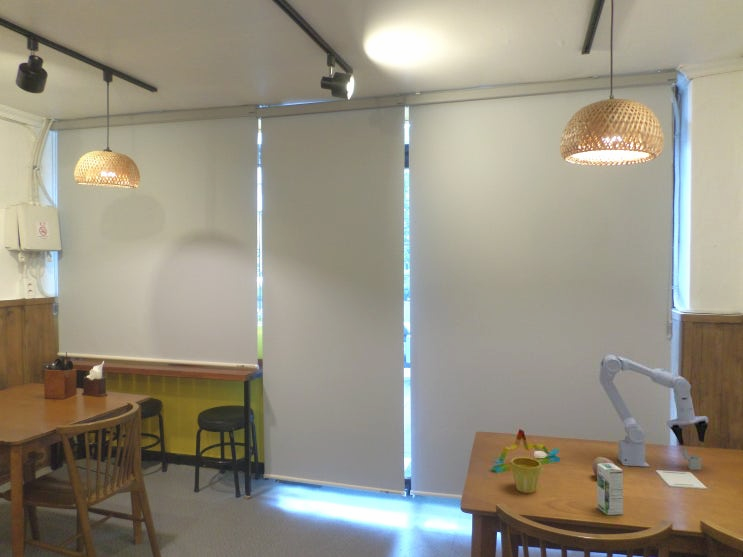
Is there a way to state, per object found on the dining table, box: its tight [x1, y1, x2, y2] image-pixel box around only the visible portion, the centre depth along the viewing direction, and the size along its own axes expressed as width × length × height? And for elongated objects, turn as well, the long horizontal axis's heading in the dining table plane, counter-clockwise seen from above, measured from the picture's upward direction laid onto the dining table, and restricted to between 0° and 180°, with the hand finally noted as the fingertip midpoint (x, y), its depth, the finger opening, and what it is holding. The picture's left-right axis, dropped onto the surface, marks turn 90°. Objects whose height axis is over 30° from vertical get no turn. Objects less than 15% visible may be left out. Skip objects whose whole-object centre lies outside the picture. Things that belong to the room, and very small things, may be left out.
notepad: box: [655, 469, 708, 490], centre depth 181 cm, size 12×14×1 cm
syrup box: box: [596, 463, 624, 516], centre depth 158 cm, size 6×6×14 cm
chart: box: [492, 428, 561, 473], centre depth 198 cm, size 30×3×15 cm, turn 111°
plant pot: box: [510, 456, 542, 494], centre depth 176 cm, size 10×10×10 cm
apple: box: [591, 456, 615, 477], centre depth 183 cm, size 8×8×8 cm
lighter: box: [679, 447, 702, 471], centre depth 191 cm, size 7×2×8 cm, turn 90°
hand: (691, 442), depth 191 cm, fingers open, 7 cm apart
